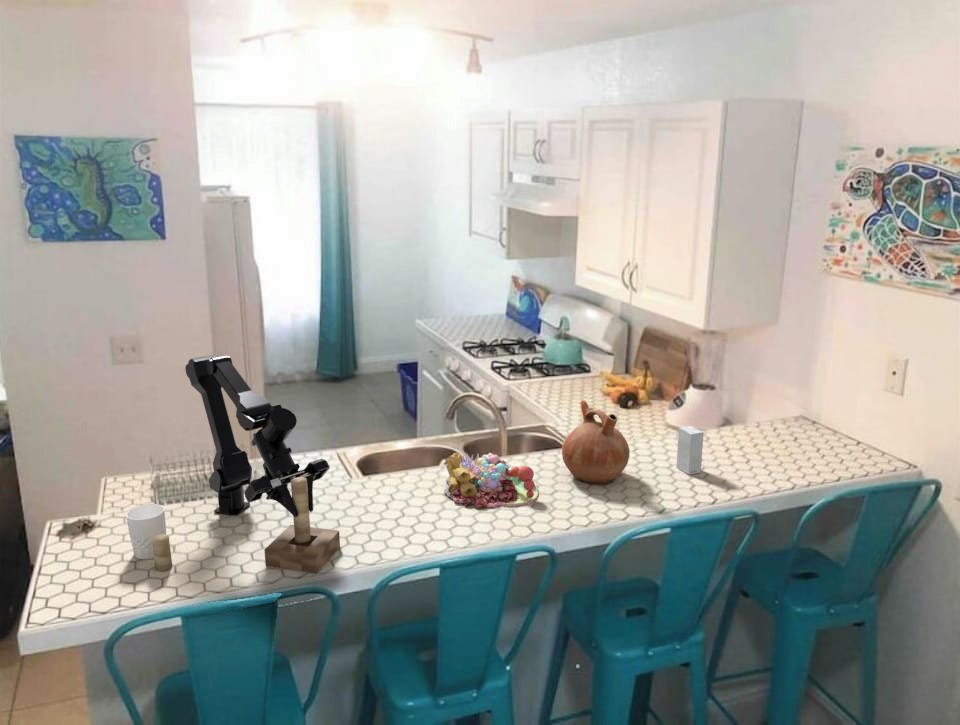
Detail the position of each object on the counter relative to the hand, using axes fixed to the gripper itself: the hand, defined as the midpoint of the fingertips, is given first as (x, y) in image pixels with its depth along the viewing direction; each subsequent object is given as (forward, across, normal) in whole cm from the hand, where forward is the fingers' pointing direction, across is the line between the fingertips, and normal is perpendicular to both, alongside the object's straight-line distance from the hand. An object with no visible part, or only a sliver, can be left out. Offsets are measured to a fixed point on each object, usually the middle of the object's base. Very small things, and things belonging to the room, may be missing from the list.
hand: (304, 513), depth 173 cm
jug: (+20, -81, +4) cm, 83 cm away
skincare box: (+31, -103, +15) cm, 109 cm away
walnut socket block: (+7, 0, -9) cm, 11 cm away
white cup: (-11, +24, -27) cm, 38 cm away
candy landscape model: (+10, -55, -6) cm, 56 cm away
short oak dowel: (-5, +24, -21) cm, 32 cm away
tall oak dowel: (+4, 0, -6) cm, 7 cm away
